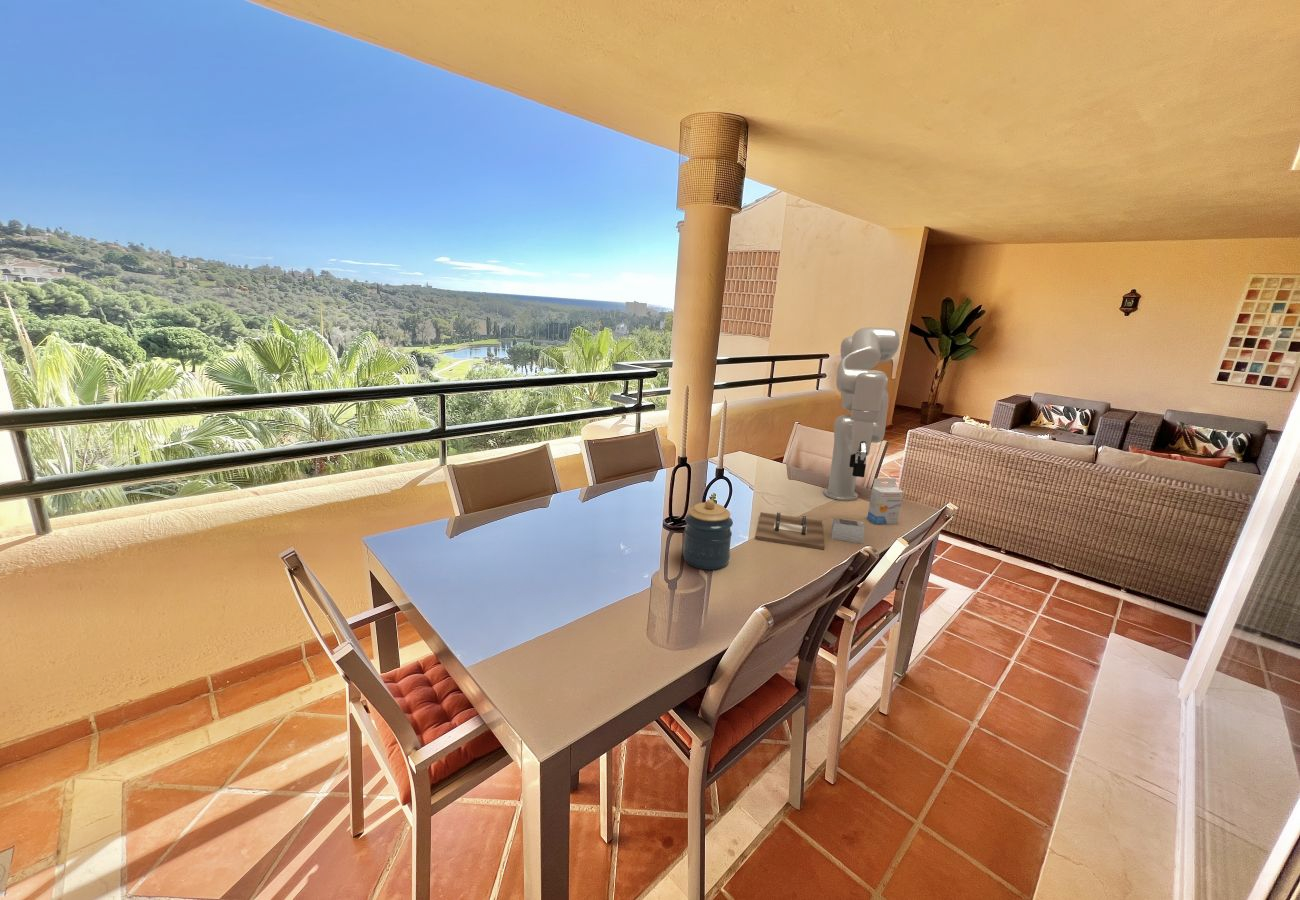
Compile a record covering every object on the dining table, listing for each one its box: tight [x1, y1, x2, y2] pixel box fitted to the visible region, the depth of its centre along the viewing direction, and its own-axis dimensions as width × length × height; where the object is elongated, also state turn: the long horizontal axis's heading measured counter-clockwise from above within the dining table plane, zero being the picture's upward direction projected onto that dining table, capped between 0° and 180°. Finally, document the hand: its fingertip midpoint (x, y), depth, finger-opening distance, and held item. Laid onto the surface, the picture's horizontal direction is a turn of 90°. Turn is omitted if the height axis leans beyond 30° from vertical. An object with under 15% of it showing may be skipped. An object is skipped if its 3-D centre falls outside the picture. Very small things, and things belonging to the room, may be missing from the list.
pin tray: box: [755, 512, 826, 550], centre depth 159 cm, size 20×20×4 cm
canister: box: [682, 499, 734, 571], centre depth 137 cm, size 13×13×18 cm
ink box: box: [867, 477, 904, 525], centre depth 168 cm, size 8×5×15 cm, turn 98°
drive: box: [830, 517, 866, 544], centre depth 155 cm, size 4×9×6 cm, turn 74°
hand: (856, 471), depth 150 cm, fingers open, 9 cm apart
